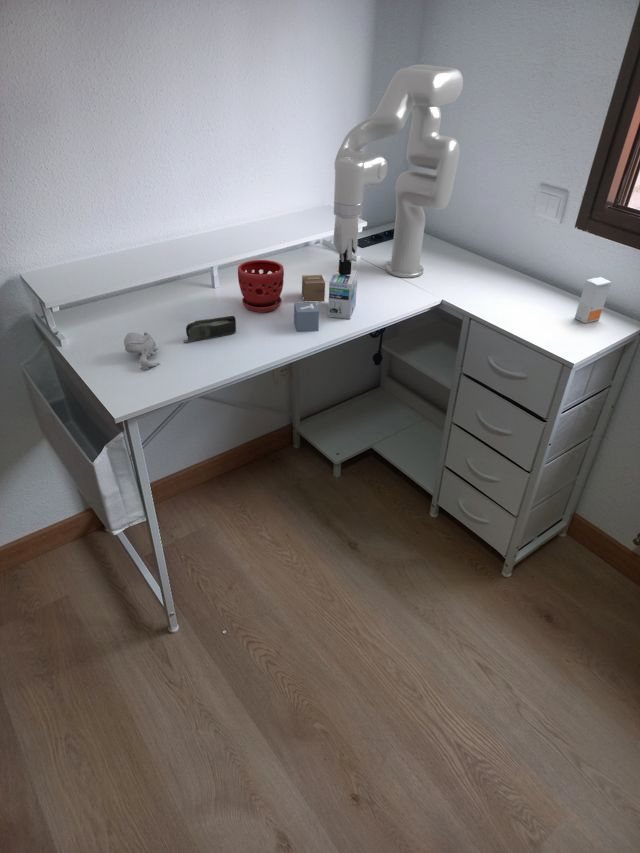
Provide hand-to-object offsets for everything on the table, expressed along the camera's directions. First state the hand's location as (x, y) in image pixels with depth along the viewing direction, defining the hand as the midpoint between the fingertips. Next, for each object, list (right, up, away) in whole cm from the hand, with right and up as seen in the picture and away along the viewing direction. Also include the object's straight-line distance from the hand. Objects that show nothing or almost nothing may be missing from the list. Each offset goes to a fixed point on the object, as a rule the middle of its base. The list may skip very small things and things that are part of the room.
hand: (344, 273), depth 176 cm
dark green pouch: (-37, -19, -9) cm, 42 cm away
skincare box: (+72, -12, +7) cm, 73 cm away
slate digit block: (-11, -15, -3) cm, 19 cm away
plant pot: (-24, -8, +8) cm, 27 cm away
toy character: (-51, -27, -20) cm, 61 cm away
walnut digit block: (-9, -4, +13) cm, 17 cm away
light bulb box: (-1, -9, +7) cm, 12 cm away
